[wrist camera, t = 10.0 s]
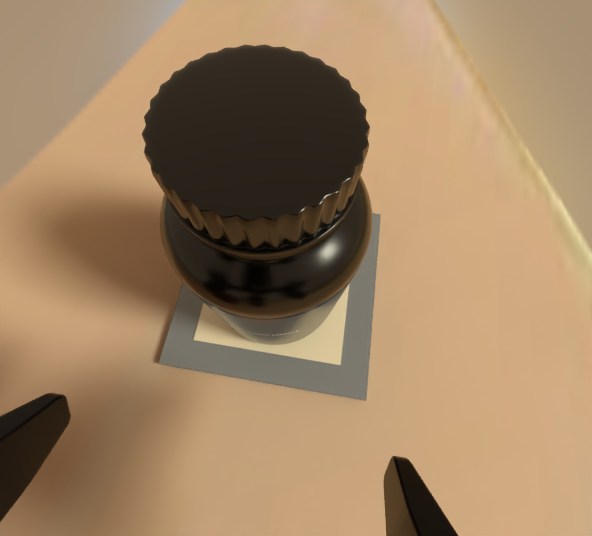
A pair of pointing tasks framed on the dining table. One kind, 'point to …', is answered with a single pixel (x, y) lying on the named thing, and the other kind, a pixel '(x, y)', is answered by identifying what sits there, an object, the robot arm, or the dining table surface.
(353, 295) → the foundation tile
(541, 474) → the dining table surface
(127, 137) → the dining table surface
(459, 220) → the dining table surface
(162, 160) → the supplement bottle
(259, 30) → the dining table surface
